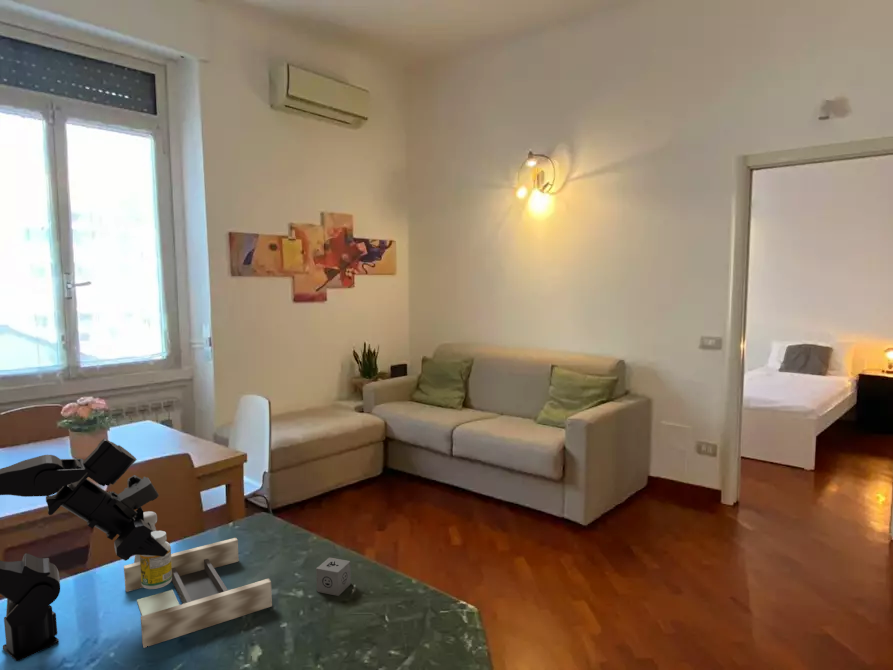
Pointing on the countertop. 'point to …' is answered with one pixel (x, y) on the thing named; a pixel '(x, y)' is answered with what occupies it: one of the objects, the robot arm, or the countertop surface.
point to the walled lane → (196, 594)
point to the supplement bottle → (156, 565)
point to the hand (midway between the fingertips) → (163, 548)
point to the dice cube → (333, 576)
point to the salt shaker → (152, 519)
